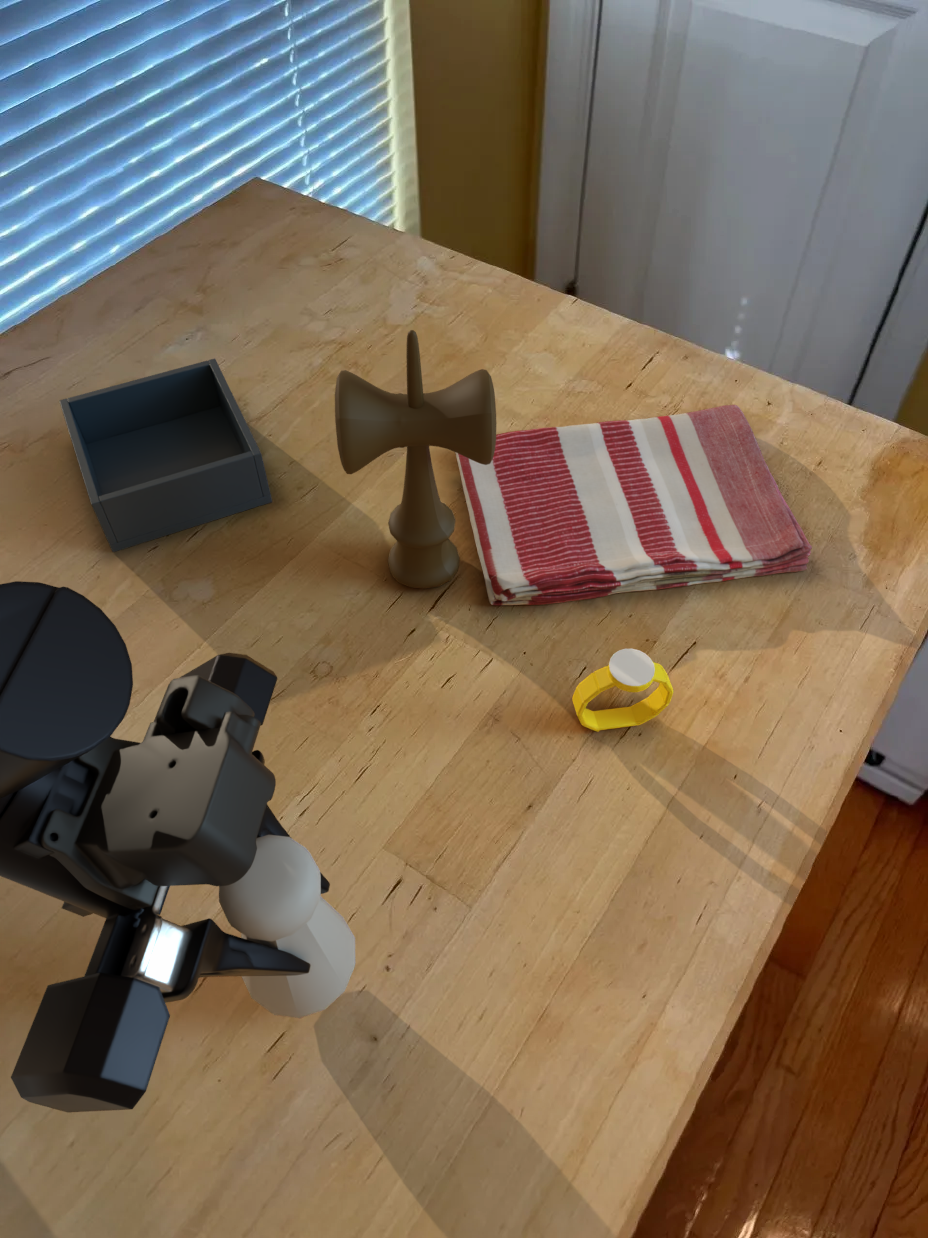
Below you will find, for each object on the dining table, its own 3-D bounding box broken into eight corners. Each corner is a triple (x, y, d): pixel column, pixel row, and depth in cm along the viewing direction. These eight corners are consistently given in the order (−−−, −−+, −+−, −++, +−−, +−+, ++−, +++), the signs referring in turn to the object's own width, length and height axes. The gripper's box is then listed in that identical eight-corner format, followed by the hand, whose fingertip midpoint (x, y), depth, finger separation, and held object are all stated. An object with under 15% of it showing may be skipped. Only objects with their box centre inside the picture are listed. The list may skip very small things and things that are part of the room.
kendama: (357, 539, 69) (326, 301, 54) (487, 533, 70) (494, 295, 54) (356, 602, 66) (322, 367, 50) (493, 596, 66) (502, 360, 50)
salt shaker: (313, 896, 52) (279, 785, 42) (382, 972, 49) (364, 874, 39) (226, 971, 49) (167, 873, 39) (294, 1055, 47) (250, 974, 37)
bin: (112, 552, 69) (91, 504, 65) (80, 449, 75) (58, 400, 71) (272, 502, 72) (261, 453, 68) (227, 407, 79) (214, 357, 75)
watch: (576, 746, 59) (586, 694, 54) (565, 709, 60) (573, 656, 56) (668, 731, 59) (685, 678, 55) (654, 694, 61) (670, 640, 56)
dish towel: (812, 572, 67) (823, 547, 65) (491, 615, 65) (492, 591, 63) (732, 418, 78) (739, 393, 76) (452, 451, 75) (452, 426, 73)
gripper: (-35, 1027, 25) (391, 1158, 33) (188, 523, 36) (465, 711, 44) (-159, 1053, 32) (218, 1156, 40) (60, 622, 43) (320, 769, 51)
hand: (314, 929), depth 44 cm, fingers closed on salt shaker, 3 cm apart
